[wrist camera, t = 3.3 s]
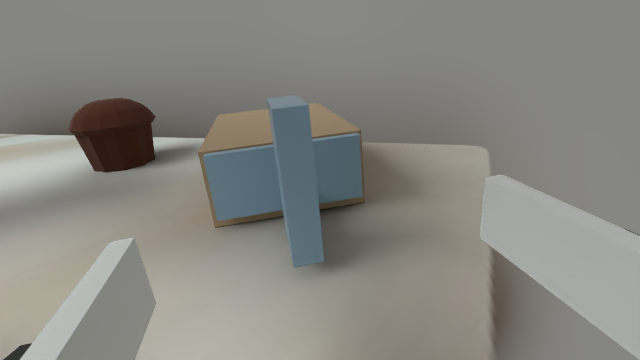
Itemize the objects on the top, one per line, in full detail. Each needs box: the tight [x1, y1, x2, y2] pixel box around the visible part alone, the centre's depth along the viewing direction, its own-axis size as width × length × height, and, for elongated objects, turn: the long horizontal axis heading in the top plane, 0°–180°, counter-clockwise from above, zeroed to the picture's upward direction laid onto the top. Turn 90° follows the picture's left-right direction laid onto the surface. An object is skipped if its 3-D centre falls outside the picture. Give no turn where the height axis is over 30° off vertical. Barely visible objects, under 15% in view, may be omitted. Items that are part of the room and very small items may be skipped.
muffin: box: [69, 98, 155, 173], centre depth 52 cm, size 12×11×10 cm
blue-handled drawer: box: [203, 96, 362, 267], centre depth 33 cm, size 29×13×10 cm, turn 12°
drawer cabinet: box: [198, 103, 364, 227], centre depth 39 cm, size 20×14×7 cm
